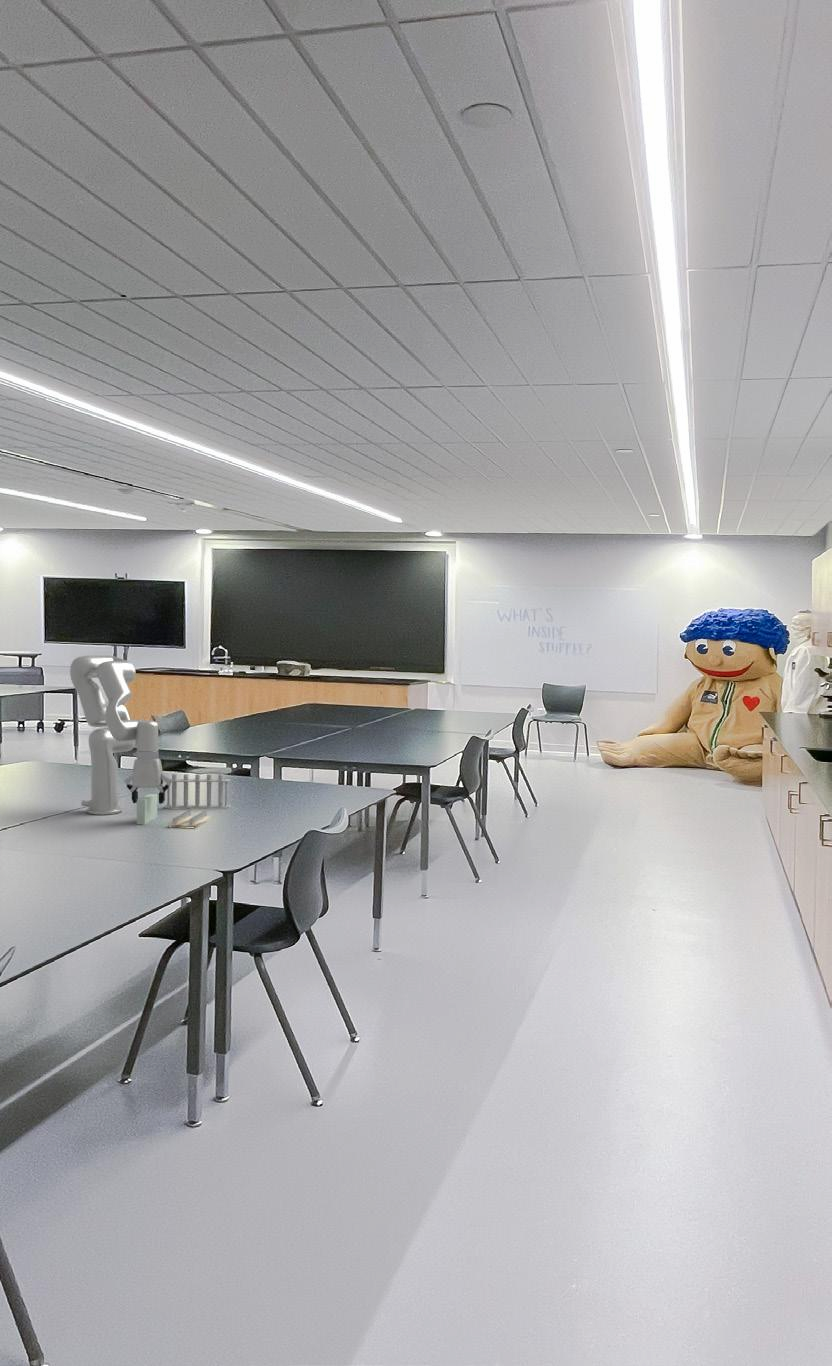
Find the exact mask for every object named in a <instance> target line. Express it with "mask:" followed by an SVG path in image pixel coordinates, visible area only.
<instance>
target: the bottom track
mask: <svg viewBox="0 0 832 1366" xmlns="http://www.w3.org/2000/svg"><path fill="white" fill-rule="evenodd" d="M207 813H208V811H206V810H204V811H202V812H200V813H198V814H196V815H191V814H192V811H191V810H187V811H184V812H183V813H181V814H179V815H177V816H175V817H173V818H172V821H171V822H170V823H169V824H167V827H168V826H171V827H194V828H196V827H197V828H199V827H200V826H199V825H201V824H202V825H204V824H205V823H204V822H206V821H207V822H209V821H210V819H211V818H212V816H209V815H207ZM208 820H209V821H208ZM211 820H212V819H211ZM207 822H206V823H207ZM203 823H204V824H203ZM202 825H201V826H202ZM198 826H199V827H198ZM197 828H196V829H197Z"/></svg>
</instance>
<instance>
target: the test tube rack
mask: <svg viewBox="0 0 832 1366" xmlns="http://www.w3.org/2000/svg"><path fill="white" fill-rule="evenodd" d="M177 777H178V776H177V774H176V773H173V774H172V775H171V778H170V779H171V780H172V782H171V785H170V786H169V788H168V789H167V790H166V793H167V795H166V797H167V798H166V799H167V800H166V801H167V803H166V804H165V805H164V807H163V809H164V808H230V809H231V804H228V784H229V783H230V782H231V779H228V778H227V779H224V775H223V773H221V774H218V778H215V779H214V778H213V779H212V774H210V773H208V774H206V779H205V778H202V779H201V774H199V773H196V774H195V778H192V779H191V778H189V773H184V774H183V779H182V778H180V779H179V778H177ZM163 783H166V781H164V780H163ZM177 783H183V804H177V797H178V796H177V785H178V784H177ZM189 783H195V785H194V788H195V789H194V790H195V791H194V792H195V793H194V794H195V795H194V797H195V798H194V799H195V800H194V804H189ZM201 783H206V804H200V801H201V800H200V799H201V798H200V795H201V794H200V793H201V791H200V789H201ZM212 783H217V784H218V789H217V790H218V795H217V796H218V800H217V802H218V803H217V804H216V805H215V804H212ZM224 784H225V786H224ZM170 787H171V804H170ZM224 787H225V789H224ZM224 790H225V792H224ZM224 793H225V795H224ZM223 795H224V796H223ZM223 797H224V801H223ZM223 802H224V803H223Z"/></svg>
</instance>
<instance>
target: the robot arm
mask: <svg viewBox="0 0 832 1366" xmlns="http://www.w3.org/2000/svg"><path fill="white" fill-rule="evenodd" d="M136 673H137V672H136V668H135V666H134V664H133V663H132V662H130V661H129V660H126V659H125V658H124V659H123V658H120V657H117V656H114V655H82V656H77V657H75V658H74V659H73V660H72V662H71V664H70V668H69V677H70V680H71V683H72V685H73V687H74V689H75V691H76V692H77V695H78V697H79V701H80V704H81V708H82V711H83V714H84V717H85V720H86V722H87V725H88V726H90V727H91V728H98V729H95V730H93V731H92V732H90V734H89V736H88V747H89V751H90V752H89V753H90V763H91V770H90V771H91V774H90V775H91V776H90V777H91V781H90V782H91V785H90V786H91V787H90V788H91V791H90V792H91V795H90V797H91V799H89V800H85V799H83V800H81V802H80V803H81V806H82V807H88V808H87V809H86V813H87V814H91V815H99V816H101V815H104V816H105V815H113V814H114V815H115V814H119V813H122V812H123V808H122V807H121V806H119V796H118V795H119V793H118V792H119V768H118V767H119V765H118V762H117V759H116V758H115V756H114V755H113V754H115V753H124V752H129V751H132V750H133V749H134V747H135V745H136V751H135V752H133V754H132V755H133V756H134V757H136V759H134V761H133V767H132V775H131V776H128V777H126V778H125V779H124V780H123V781H124V783H125V786H126V788H127V789H128V790H129V791H130V792H131V801H132V804H137V799H139V792H138V789H139V788H145V789H146V788H147V789H149V788H150V789H151V788H156V789H157V790H158V791H159V792H158V804H159V805H160V804H161V805H162V804H163V803H164V802H165V800H166V792H167V789H168V788H169V786H170V787H171V785H172V780H171V779H172V778H169V777H167V776H166V775H164V773H163V766H162V761H161V758H159V754H160V752H159V747H160V746H159V724H158V722H157V721H154V720H146V719H131V717H130V715H129V712H128V710H127V709H128V708H127V707H126V706H125V705H124V704H126V703H127V702H129V700H130V699H131V698H132V692H131V690H130V688H129V686H128V684H129V683H133V682H134V681H135V679H136V677H137V676H136V675H137V674H136ZM95 678H97V679H98V681H99V683H100V685H101V687H102V688H101V687H100V686H99V684H97V682H95V681H94V680H93V679H95ZM102 690H103V691H102ZM103 692H104V694H105V696H106V699H107V700H108V701H107V700H106V699H105V697H104V694H103ZM164 781H166V782H165V785H163V784H164Z"/></svg>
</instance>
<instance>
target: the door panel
mask: <svg viewBox="0 0 832 1366" xmlns="http://www.w3.org/2000/svg"><path fill="white" fill-rule="evenodd" d="M155 818H157V819H158V794H154V793H149V794H146V795H144V796H141V797H138V799H137V803H136V825H137V824H146V823H147V822H149V821H151V820H153V819H155ZM155 820H156V819H155ZM153 821H154V820H153ZM146 825H147V824H146Z"/></svg>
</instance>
